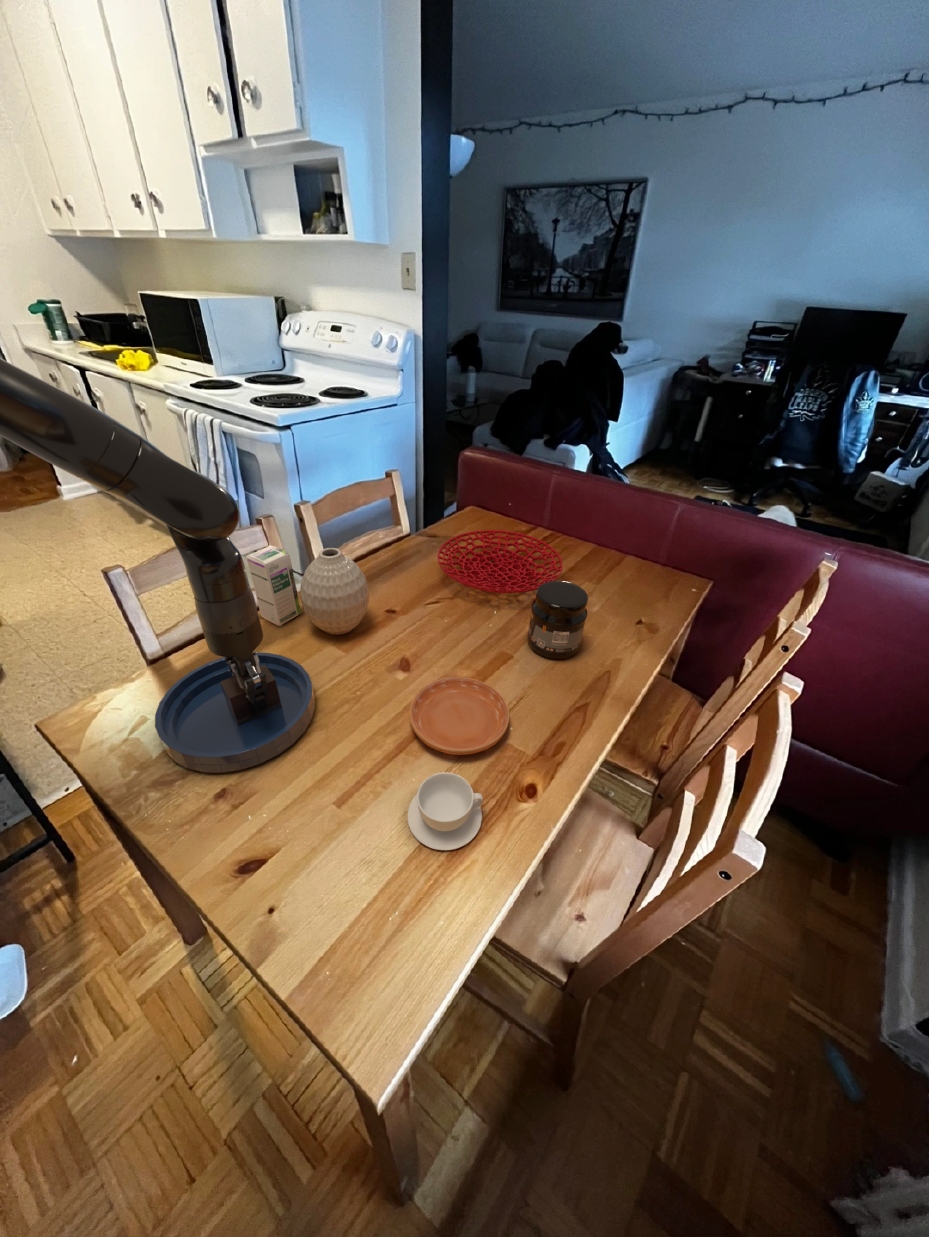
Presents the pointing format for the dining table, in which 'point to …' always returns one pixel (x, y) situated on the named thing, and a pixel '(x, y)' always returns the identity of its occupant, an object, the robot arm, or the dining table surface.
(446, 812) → the teacup
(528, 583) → the bowl
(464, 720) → the saucer
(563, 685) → the dining table surface
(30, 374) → the robot arm
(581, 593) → the supplement container
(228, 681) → the dark brown block
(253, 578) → the syrup box
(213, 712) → the glazed bowl
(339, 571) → the vase
